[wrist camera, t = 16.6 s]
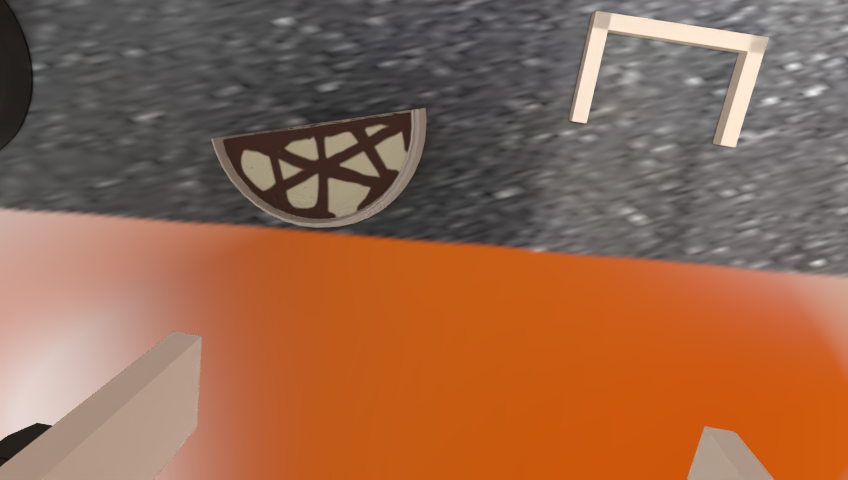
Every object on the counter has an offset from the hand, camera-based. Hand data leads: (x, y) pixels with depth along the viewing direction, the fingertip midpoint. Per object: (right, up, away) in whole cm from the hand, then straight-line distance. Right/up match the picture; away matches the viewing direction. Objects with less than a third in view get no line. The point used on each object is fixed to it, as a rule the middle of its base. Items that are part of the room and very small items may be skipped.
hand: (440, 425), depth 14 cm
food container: (-5, +11, +26) cm, 28 cm away
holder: (+16, +15, +23) cm, 31 cm away
